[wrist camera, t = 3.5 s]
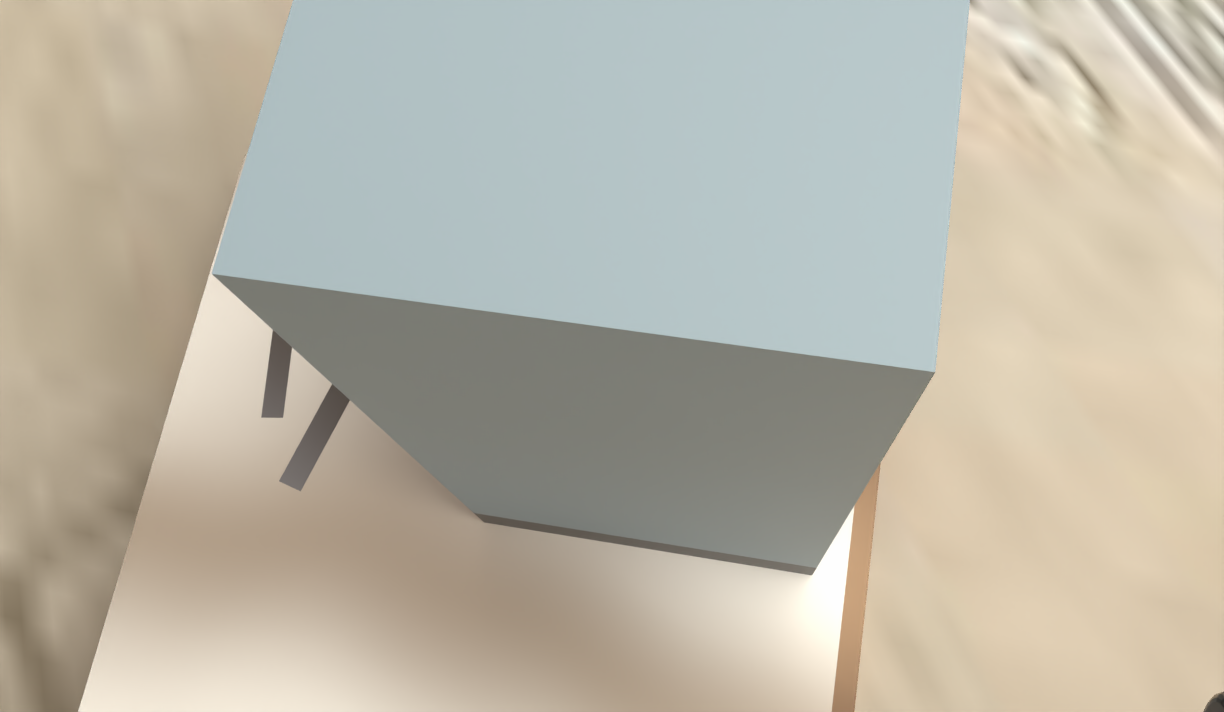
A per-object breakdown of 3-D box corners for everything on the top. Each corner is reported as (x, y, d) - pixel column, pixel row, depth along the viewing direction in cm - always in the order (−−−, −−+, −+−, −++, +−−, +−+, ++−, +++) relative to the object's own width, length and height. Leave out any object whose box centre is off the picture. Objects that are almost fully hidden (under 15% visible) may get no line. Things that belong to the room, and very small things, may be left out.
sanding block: (811, 575, 17) (934, 373, 7) (484, 522, 18) (211, 273, 8) (849, 264, 18) (991, -237, 9) (545, 226, 19) (376, -278, 10)
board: (783, 1289, 16) (792, 1365, 14) (6, 1098, 17) (-81, 1143, 15) (894, 263, 20) (912, 214, 18) (270, 185, 22) (228, 134, 20)
